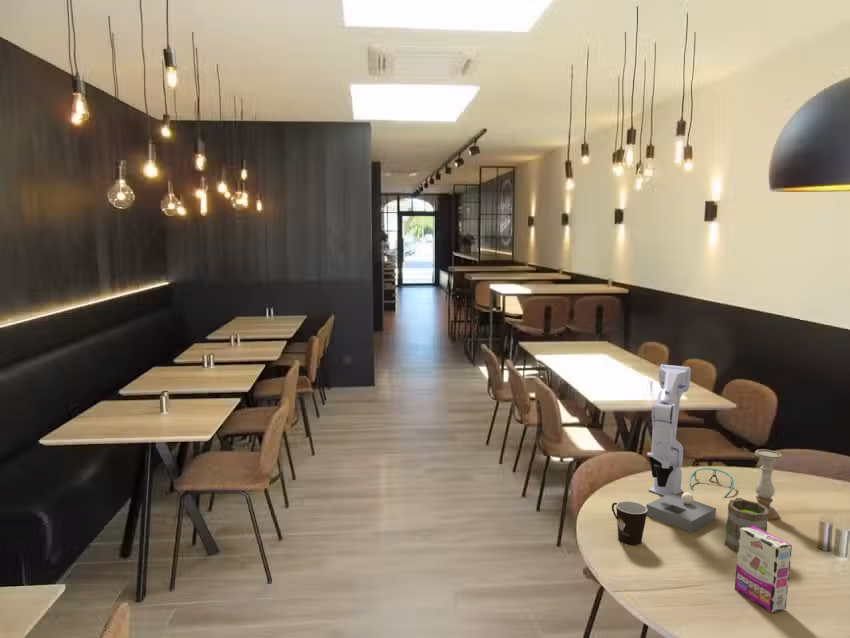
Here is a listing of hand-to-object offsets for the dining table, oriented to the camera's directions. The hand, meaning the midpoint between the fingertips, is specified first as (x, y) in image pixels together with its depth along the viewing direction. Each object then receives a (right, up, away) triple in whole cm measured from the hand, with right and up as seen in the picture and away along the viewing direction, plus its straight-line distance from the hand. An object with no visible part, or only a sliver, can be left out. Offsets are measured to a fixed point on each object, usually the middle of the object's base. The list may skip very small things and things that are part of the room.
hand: (658, 481), depth 203 cm
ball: (+8, -5, -2) cm, 10 cm away
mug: (+17, -13, -20) cm, 29 cm away
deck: (+6, -10, -3) cm, 12 cm away
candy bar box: (+7, -17, -48) cm, 51 cm away
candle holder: (+33, -11, 0) cm, 35 cm away
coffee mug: (-15, -12, -18) cm, 26 cm away
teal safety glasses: (+26, -8, +21) cm, 35 cm away
